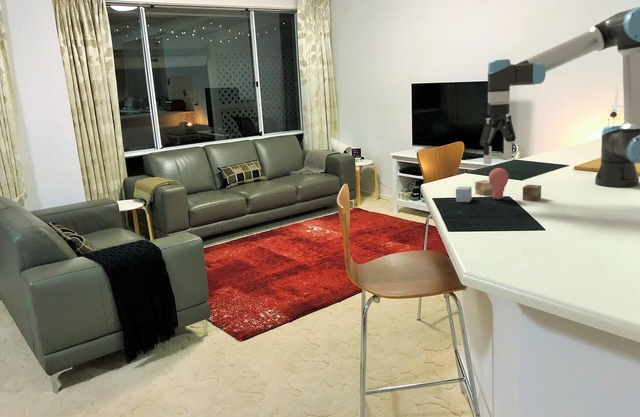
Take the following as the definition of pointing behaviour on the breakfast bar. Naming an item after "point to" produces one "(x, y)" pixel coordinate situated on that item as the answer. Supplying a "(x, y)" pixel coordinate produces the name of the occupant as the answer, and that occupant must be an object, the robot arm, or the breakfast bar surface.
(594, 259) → the breakfast bar surface
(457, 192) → the slate-blue painted block
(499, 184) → the light bulb
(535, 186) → the walnut block
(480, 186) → the oak block
